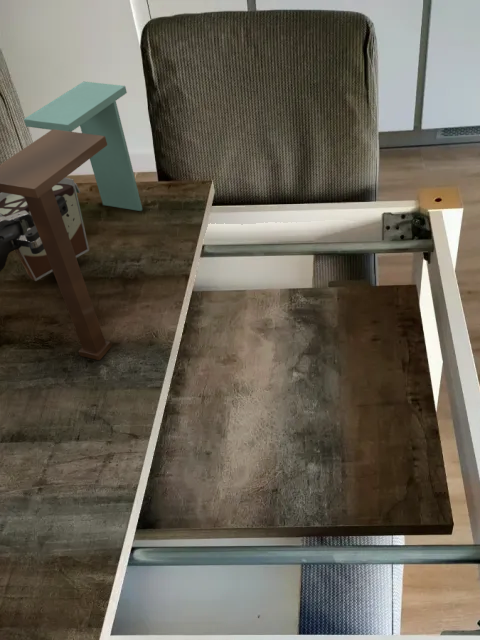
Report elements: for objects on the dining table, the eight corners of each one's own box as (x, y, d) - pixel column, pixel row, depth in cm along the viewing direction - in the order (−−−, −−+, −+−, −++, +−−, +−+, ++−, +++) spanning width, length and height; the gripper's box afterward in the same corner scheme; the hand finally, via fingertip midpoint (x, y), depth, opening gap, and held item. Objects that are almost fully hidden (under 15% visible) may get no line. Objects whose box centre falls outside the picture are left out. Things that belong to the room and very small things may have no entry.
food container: (69, 234, 97) (46, 168, 90) (97, 245, 94) (76, 177, 87) (-2, 273, 90) (-33, 204, 83) (26, 286, 87) (-3, 216, 80)
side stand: (51, 352, 81) (-23, 179, 65) (106, 295, 89) (52, 129, 72) (98, 363, 79) (34, 188, 63) (150, 304, 87) (105, 135, 71)
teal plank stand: (65, 237, 99) (23, 119, 86) (115, 194, 108) (83, 81, 95) (104, 245, 97) (68, 124, 84) (152, 200, 106) (125, 85, 93)
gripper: (-9, 244, 72) (77, 178, 83) (-110, 225, 76) (-15, 164, 87) (15, 300, 78) (93, 231, 88) (-80, 280, 81) (6, 216, 92)
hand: (39, 198), depth 87 cm, fingers closed on food container, 7 cm apart
